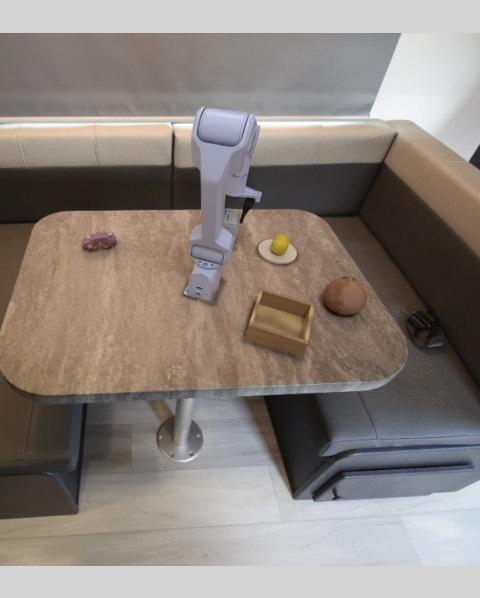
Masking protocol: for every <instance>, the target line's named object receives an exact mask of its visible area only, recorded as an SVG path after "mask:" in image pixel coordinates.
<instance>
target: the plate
mask: <svg viewBox="0 0 480 598" xmlns="http://www.w3.org/2000/svg"><path fill="white" fill-rule="evenodd" d="M273 239H274V238H269V239H264V240H262V241H261V242H260V243H259V244H258V246H257V247H258V248H257V253H258V255H259V256H260V257H261V258H262V259H263V260H264V261H266V262H269V263H271V264H274V265H275V264H276V265H288V264H291V263H293V262H294V261H296V258H297V256H298V252H297V249H296V247H295V246H293V245H292V244H291V243H289V246H288V249H287V251H286V252H285V253H283V254H275V253H274V252H273V251H272V249H271V244H272V241H273Z"/></svg>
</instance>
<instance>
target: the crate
mask: <svg viewBox="0 0 480 598" xmlns="http://www.w3.org/2000/svg"><path fill="white" fill-rule="evenodd" d="M257 294H258V295H257V297H256V300H255V304H254V307H253V310H252V313H251V316H250V319H249V322H248V325H247V328H246V331H245V335H244V339H246V340H249V341H252V342H256V343H258V344H262V345H265V346H268V347H271V348H274V349H277V350H280V351H284V352H287V353H289V354H292V355H295V356H299V357H303V354H304V352H305V350H306V348H307V347H308V345H309V342H310V335H311V329H312V322H313V316H314V310H315V303H313V302H310V301H306V300H303V299H299V298H295V297H292V296H289V295H287V294H282V293H278V292H275V291H271V290H268V289H265V288H260V289H259V292H258V293H257Z"/></svg>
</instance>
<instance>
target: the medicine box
mask: <svg viewBox="0 0 480 598" xmlns="http://www.w3.org/2000/svg"><path fill="white" fill-rule="evenodd" d="M239 221H240V209H235V208H227V207H226V208H224V219H223V228H225V229H226V230H227V231H228V232H230V233H231V234H232V235H233V236H232V237H233V242H234V245H233V249H234V247H235V243H236V238H237V234H238V233H237V232H238V228H239Z"/></svg>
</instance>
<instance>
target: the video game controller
mask: <svg viewBox="0 0 480 598" xmlns="http://www.w3.org/2000/svg"><path fill="white" fill-rule="evenodd" d="M116 243H117V236H116V234H115V233H113V232H110V231H109V232H102V231H98V232H95V233H92V234H88V235H86V236H84V237H83V238H82V240H81V245H82V247H83V248H85V249H90V250H93V251H96V250H98V249H99V244H101V248H102V249H108V248H109V247H111V246H112V245H115V244H116Z"/></svg>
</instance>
